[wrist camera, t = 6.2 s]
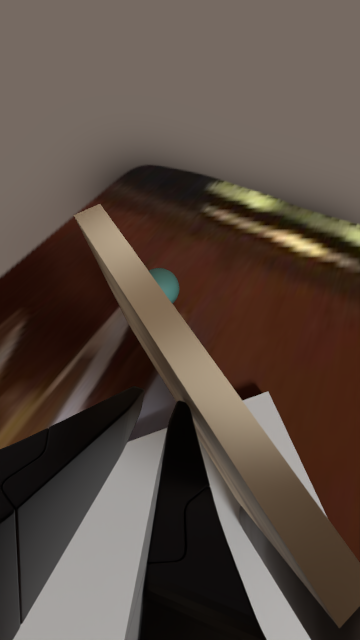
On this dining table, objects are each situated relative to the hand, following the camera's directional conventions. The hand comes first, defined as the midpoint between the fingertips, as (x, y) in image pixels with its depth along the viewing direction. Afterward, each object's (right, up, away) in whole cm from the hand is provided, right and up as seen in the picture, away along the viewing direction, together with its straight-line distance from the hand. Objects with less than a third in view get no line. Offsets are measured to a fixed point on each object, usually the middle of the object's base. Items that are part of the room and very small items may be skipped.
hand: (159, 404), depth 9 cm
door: (+2, -2, +6) cm, 7 cm away
